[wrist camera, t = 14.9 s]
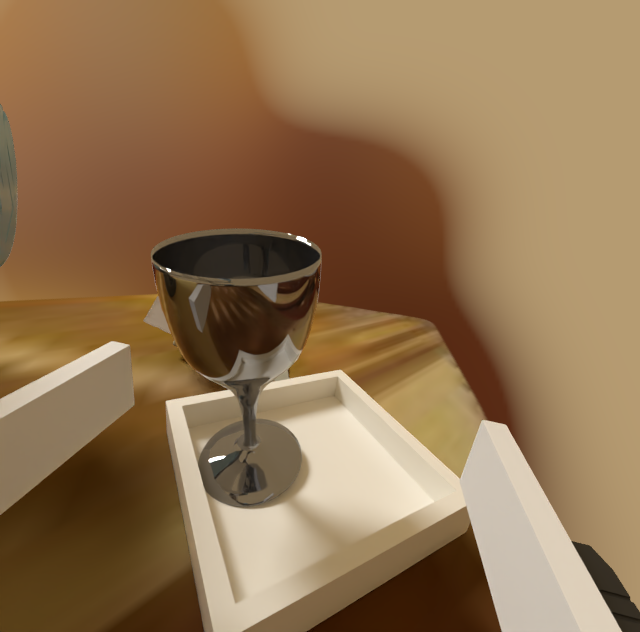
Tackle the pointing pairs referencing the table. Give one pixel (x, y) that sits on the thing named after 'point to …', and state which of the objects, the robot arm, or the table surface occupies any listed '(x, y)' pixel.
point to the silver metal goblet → (241, 342)
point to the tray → (310, 507)
